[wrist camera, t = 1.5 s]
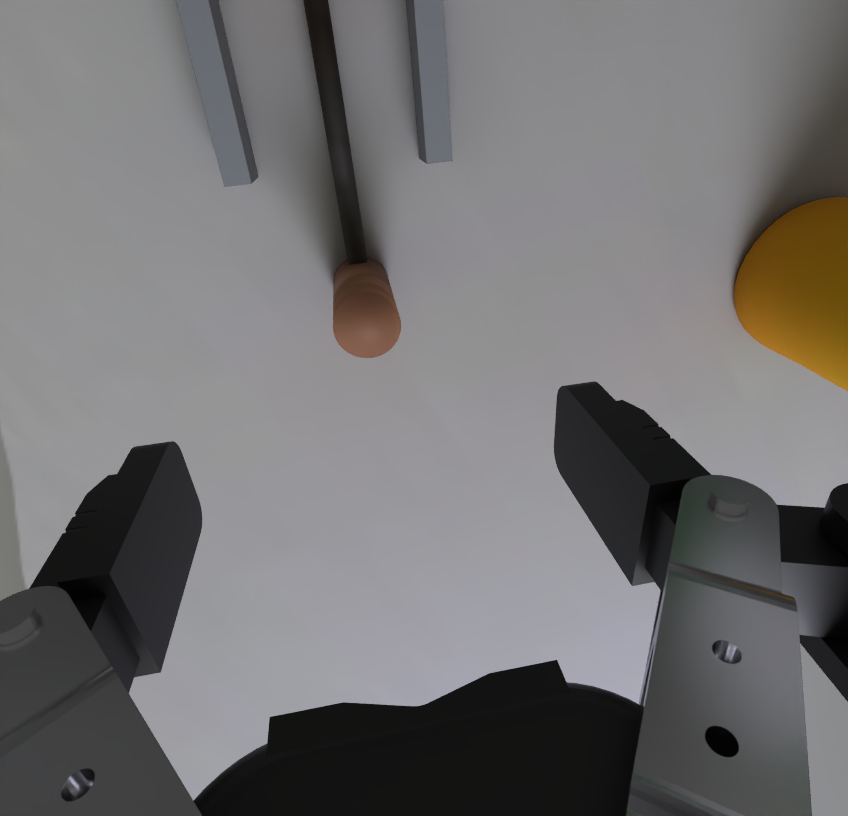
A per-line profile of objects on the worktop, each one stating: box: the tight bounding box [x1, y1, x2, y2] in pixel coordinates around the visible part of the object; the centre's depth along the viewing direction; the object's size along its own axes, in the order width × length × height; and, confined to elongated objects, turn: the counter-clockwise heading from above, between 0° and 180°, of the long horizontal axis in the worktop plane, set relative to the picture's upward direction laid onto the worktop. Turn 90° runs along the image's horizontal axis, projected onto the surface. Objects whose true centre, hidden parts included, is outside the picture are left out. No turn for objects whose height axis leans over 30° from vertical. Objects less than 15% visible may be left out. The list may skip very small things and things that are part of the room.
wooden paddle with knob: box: [304, 0, 401, 358], centre depth 22 cm, size 6×23×7 cm, turn 5°
